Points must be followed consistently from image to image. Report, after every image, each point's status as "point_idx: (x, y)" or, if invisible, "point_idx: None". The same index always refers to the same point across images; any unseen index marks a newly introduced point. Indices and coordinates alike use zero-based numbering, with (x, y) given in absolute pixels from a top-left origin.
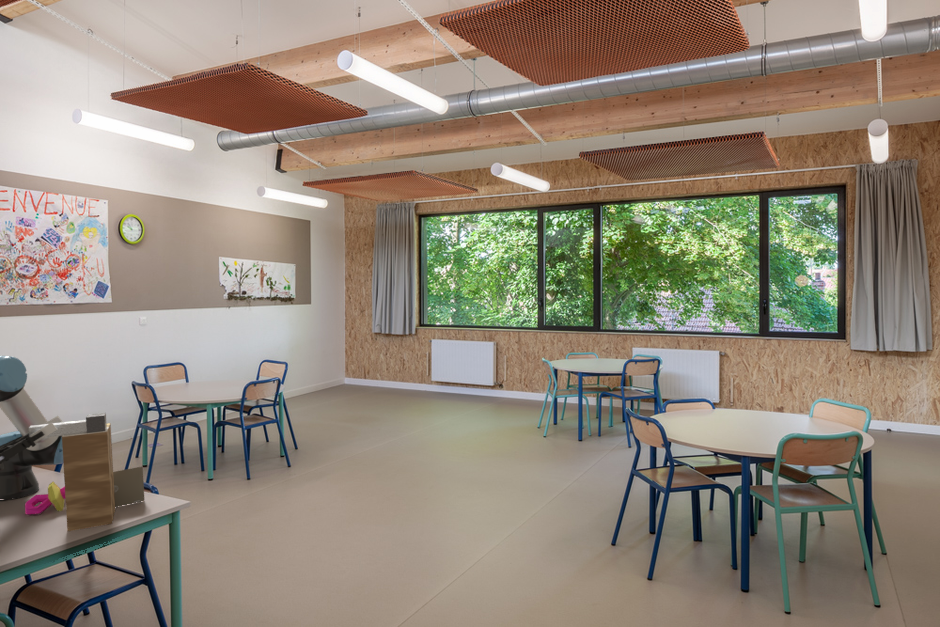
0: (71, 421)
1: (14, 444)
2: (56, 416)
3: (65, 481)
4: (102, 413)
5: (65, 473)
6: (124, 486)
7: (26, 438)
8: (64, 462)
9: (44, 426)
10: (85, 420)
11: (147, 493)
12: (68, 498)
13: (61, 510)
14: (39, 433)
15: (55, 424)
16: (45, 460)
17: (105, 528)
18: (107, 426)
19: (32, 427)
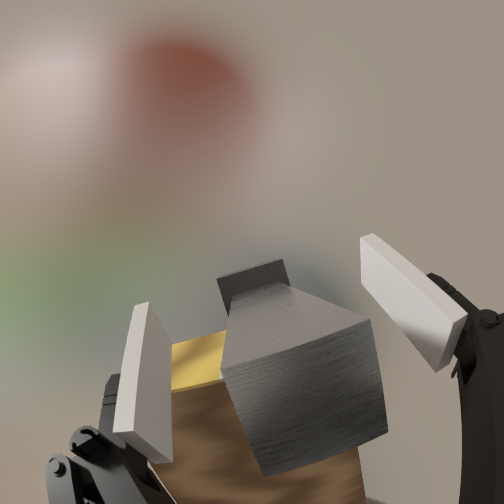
0: (234, 302)
1: (502, 473)
2: (134, 310)
3: (364, 494)
4: (229, 273)
5: (360, 476)
6: None
7: (498, 315)
8: (356, 447)
9: (321, 300)
10: (248, 291)
11: (172, 499)
12: None
13: None
14: (441, 281)
15: (283, 298)
16: None
17: (370, 500)
18: (214, 334)
19: (349, 313)
